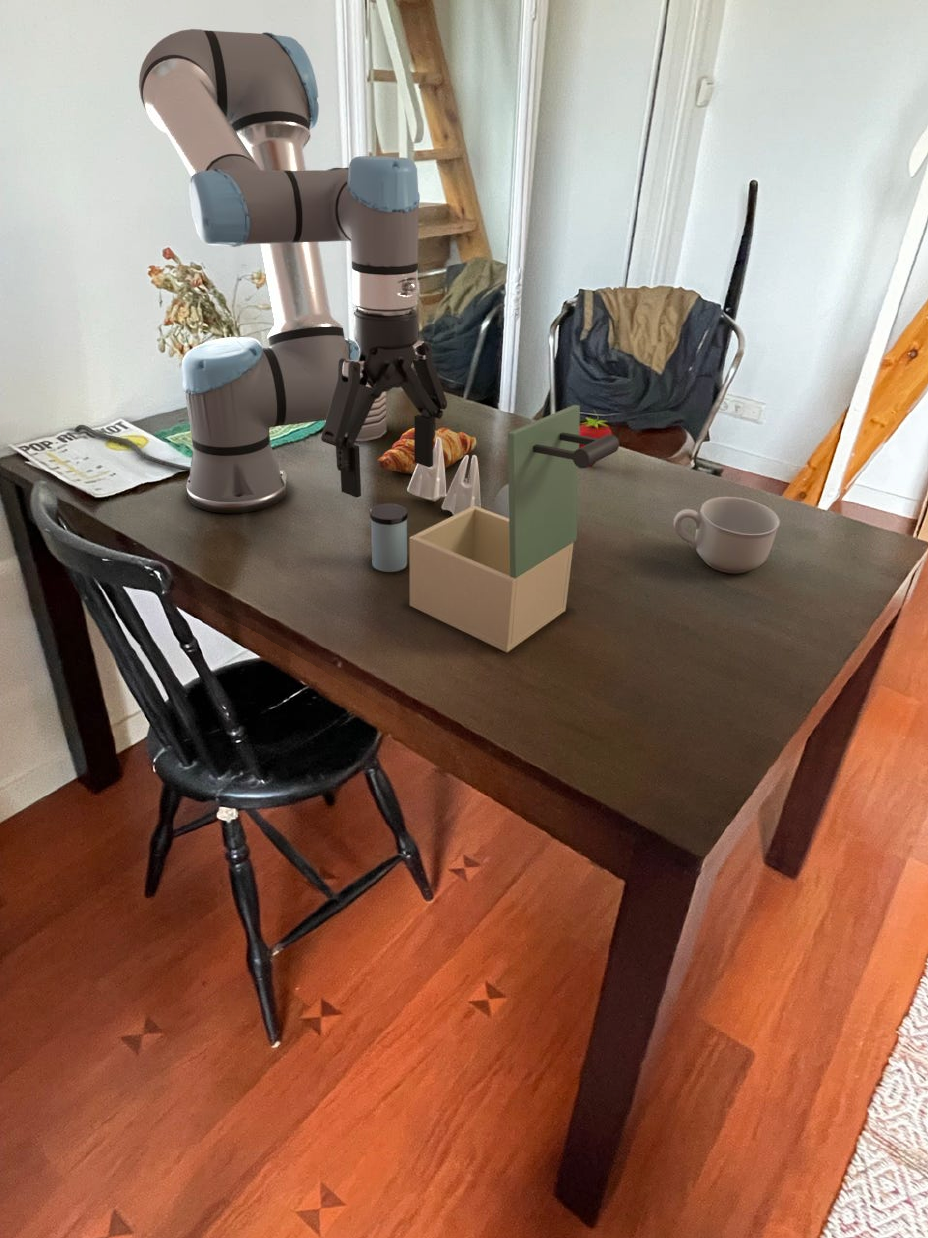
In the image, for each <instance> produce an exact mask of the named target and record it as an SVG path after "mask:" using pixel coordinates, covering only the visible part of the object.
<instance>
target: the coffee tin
mask: <svg viewBox="0 0 928 1238" xmlns="http://www.w3.org/2000/svg"><path fill="white" fill-rule="evenodd" d="M408 513H409V511H408V508H406V507H405V506H403V505H402V504H399V503H392V502H391V503H390V502H389V503H379V504H376V505H374V506H373V507H372V508H370V511H369V518H370V530H371V531H370V532H371V562H372V563H371V564H372V567H373V568H374V569H376V570H377V571H380V572H385V573H394V572H399V571H401V570H404V569H405V568H406V567H407V565H408V518H409V517H408V516H409V515H408Z"/></svg>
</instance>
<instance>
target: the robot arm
mask: <svg viewBox="0 0 928 1238" xmlns="http://www.w3.org/2000/svg"><path fill="white" fill-rule="evenodd" d="M140 68H141V69H140V72H139V78H138V88H139V89H138V90H139V94H140V95H139V96H140V100H141V103H142V105H143V107H144V109H145V112H146V114H147V115H148V118H149V119H150V120H151V122H152V123H153V125H155V127H156V128H157V129H158V130H159V131H161V132H162V133H164V134H165V135H167V136H168V137H169V139H170V140H171V142H172V144H173V147H174V148H175V149H176V151H177V154H178V155H179V157H180V158H181V160H182V162H183V164H184V166H185V167H186V170H187V171H188V173H189V175H190V176H191V177H190V180H189V187H188V192H189V204H190V205H189V206H190V211H191V216H192V221H193V223H194V227H195V231H196V234H197V235H198V237H199V239H200V240H201V241H202V242H203V243H205V244H206V245H209V246H228V247H229V246H230V247H233V248H236V247H241V246H252V245H253V246H254V245H260V247H261V253H262V259H263V263H264V269H265V274H266V275H265V276H266V280H267V281H266V282H267V285H268V291H269V296H270V297H269V298H270V302H271V307H272V313H273V319H274V326H273V327H272V328H271V330H270V332H269V333H268V335H267V341H268V346H269V347H263V346H262V345H261V342H260V341H259V340H257V339H256V338H253V337H248V336H241V337H236V336H230V337H222V338H216V339H212V340H210V341H206V342H203V343H201V344H198V345H196V346H194V347H192V348H191V349H189V350H188V351H187V352H186V353H185V354H184V356H183V358H182V361H181V375H182V390H183V392H184V396H185V401H186V403H185V404H186V409H187V415H188V422H189V428H190V429H189V430H190V436H191V444H192V455H191V462H190V466H187V465H182V464H178V463H176V462H175V463H174V462H171V461H168V460H163V459H160V458H157V457H155V456H152V455H150V454H147V453H145V452H144V451H142V449H141V448H140V447H139V446H138V445H137V444H136V443H135V442H133V441H131V440H128V439H126V438H123V437H119V436H115V435H112V434H111V435H110V434H106V433H101V432H98V431H96V430H94V429H92V428H91V427H89V426H87V425H85V424H78V425H77V426H76V427H75V428H74V432H80V431H81V430H83V431H85V432H87V433H89V434H91V435H92V436H94V437H97V438H100V439H104V440H109V441H114V442H117V443H121V444H124V445H127V446H129V447H130V448H132V449H133V450H134V451H135V452H136V453H137V454H138V455H139V456H140V457H141V458H143V459H145V460H147V461H149V462H152V463H155V464H157V465H160V466H165V467H169V468H171V469H176V470H179V471H184V472H189V476H188V478H187V481H186V491H187V498H188V501H189V502H190V504H192V505H193V506H195V507H197V508H199V509H201V510H204V511H208V512H212V513H220V514H240V513H249V512H250V513H251V512H256V511H259V510H263V509H266V508H269V507H271V506H274V505H275V504H277V503H279V502H280V501H282V499H283V498H284V497H285V496H286V494H287V478H288V477H287V476H288V474H287V473H286V470H285V468H284V467H283V469H282V470H281V469H280V465H279V462H278V459H277V457H276V455H275V453H274V450H273V447H272V443H271V435H270V428H274V427H282V426H292V425H298V424H299V425H300V424H306V423H308V424H309V423H315V422H322V421H324V425H323V429H322V432H321V437H320V440H321V442H323V443H326V444H328V445H331V446H334V447H335V455H336V468H337V470H338V471H339V472H340V487H341V489H340V490H341V493H343V494H346V495H349V496H351V497H353V498H356V499H358V498H360V497H362V482H361V481H362V480H361V458H360V455H361V454H360V446H359V444H358V445H357V444H355V443H356V442H357V441H356V439H357V436H358V434H359V432H360V430H361V428H362V426H363V424H364V422H365V420H366V418H367V416H368V414H369V412H370V410H371V408H372V406H373V404H374V401H375V400H376V399H378V398H379V397H380V396H381V394H382V392H386V393H387V392H389V391H390V390H392V389H393V388H396V389H398V388H401V389H402V390H403V392H404V393H405V395H406V396H407V397H408V399H409V400H410V401H411V403H412V405H413V406H414V407H415V409H416V410H417V411H418V414H416V415H414V416H413V418H414V419H413V423H414V424H413V428H414V462H415V463H418V464H421V465H423V466H426V467H432V466H433V439H434V438H435V430H436V420H437V419H438V420H440V419H441V418H442V417H443V415H444V414H443V413H444V410H446V409H447V407H448V401H447V398H446V395H445V392H444V390H443V386H442V383H441V381H440V378H439V375H438V372H437V369H436V366H435V363H434V361H433V360H434V359H433V350H432V344H431V343H430V342H427V341H423V340H419V312H417V310H416V309H415V307H416V306H418V303H419V302H418V301H419V300H418V299H419V297H418V293H419V291H418V289H419V288H418V286H419V284H418V283H419V282H418V280H419V279H418V277H419V276H418V275H419V274H418V272H419V211H420V209H419V205H420V201H421V197H420V196H421V195H420V192H419V179H418V168H417V164H416V163H415V162H414V161H413V160H412V159H410V158H406V157H399V156H398V157H397V156H387V155H362V156H355V157H353V158H352V159H351V160H350V162H349V164H348V167H332V168H329V169H326V170H307V169H306V168H307V167H306V162H305V156H304V155H305V154H304V148H305V147H306V146H307V144H308V143H309V141H310V140H311V137H312V136H311V130H312V129H313V128H314V127H315V126H316V124H317V122H318V119H319V111H320V110H319V109H320V105H319V102H318V101H319V100H318V98H319V90H318V89H319V88H318V85H317V79H316V75H315V71H314V67H313V65H312V62H311V60H310V57H309V55H308V53H307V51H306V49H305V48H304V47H303V46H302V44H301V43H299V42H298V40H297V39H295V38H293V37H292V36H286V35H277V34H273V33H272V32H269V31H268V32H267V31H266V32H262V33H256V32H255V33H254V32H240V31H239V32H238V31H225V30H224V31H222V30H206V29H198V28H191V29H183V30H179V31H176V32H173V33H170V34H168V35H167V36H165V37H163V38H162V39H161V40H159V41H158V42H157V43H156V44H155V45H154V46H153V47H152V48H151V49H150V51H149V52H148V53H147V54H146V56H145V58H144V60H143V62H142V64H141V67H140ZM327 242H328V243H329V242H330V243H331V242H350V249H351V270H352V271H351V272H352V273H351V274H352V275H351V276H352V303H353V305H354V306H355V307H356V309H355V311H354V312H353V328H354V329H353V331H354V340H351V339H349V338H345V332H344V326H343V325H342V324H340V322H338V321H337V320H336V319H335V318H333V317H332V314H331V308H330V302H329V297H328V291H327V284H326V278H325V273H324V267H323V262H322V255H321V250H320V244H319V243H327ZM412 365H413V367H414V369H413V367H412ZM367 382H368V384H369V386H370V387H368V386H366V384H367ZM346 433H347V436H345V434H346Z"/></svg>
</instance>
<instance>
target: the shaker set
mask: <svg viewBox="0 0 928 1238" xmlns="http://www.w3.org/2000/svg"><path fill="white" fill-rule="evenodd" d="M462 458H463V459H462V460H461V462H460V464H459V467H458V468H457V471H456V472H455V475H454V477H453V478H452V482H451V484H450V486H449V489H448V490H447V485H446V484H447V483H446V468H445V467H444V457H443V449H442V442H441V438H440V437H437V438H436V443H435V447H434V449H433V466H432V467H426V466H423V465H421V464H417V466H416V469H415V471H414V473H412V476H411V479H410V481H409V484H408V486H407V493H409V494H410V495H413V496H415V497H419V498H421V499H425V500H428V501H431V502H434V503H435V502H436V501H438V500H440V499H443V498H444V500H443V502H442V504H441V509H442V511H449V512H450V513H451V514H452V516H454V515H456V514H458V513H460V512H462V511H464V510H466V509H468V508H470V507H472V506H477V507H480V508H482V507H481V505H482V503H481V487H480V486H481V485H480V473H479V463H478V457H477V455H475V454H473V455H472V456H471V461H470V464H469V469H468V474H467V467H468V462H469V454H465V455H464V457H462ZM466 474H467V478H466Z"/></svg>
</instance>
